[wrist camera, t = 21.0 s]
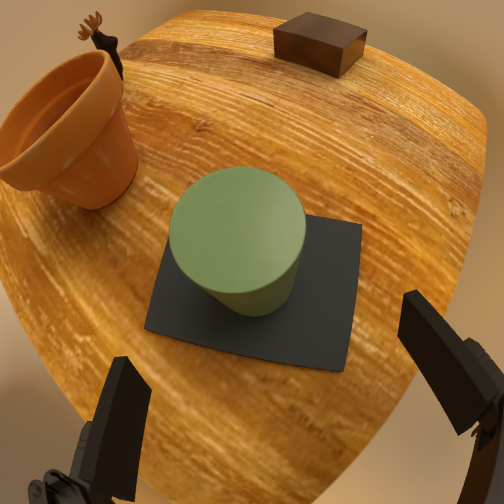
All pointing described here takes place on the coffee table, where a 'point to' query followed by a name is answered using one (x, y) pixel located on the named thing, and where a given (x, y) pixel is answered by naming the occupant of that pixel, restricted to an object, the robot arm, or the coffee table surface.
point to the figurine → (101, 40)
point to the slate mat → (281, 320)
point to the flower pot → (71, 135)
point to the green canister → (240, 238)
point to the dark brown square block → (320, 43)
